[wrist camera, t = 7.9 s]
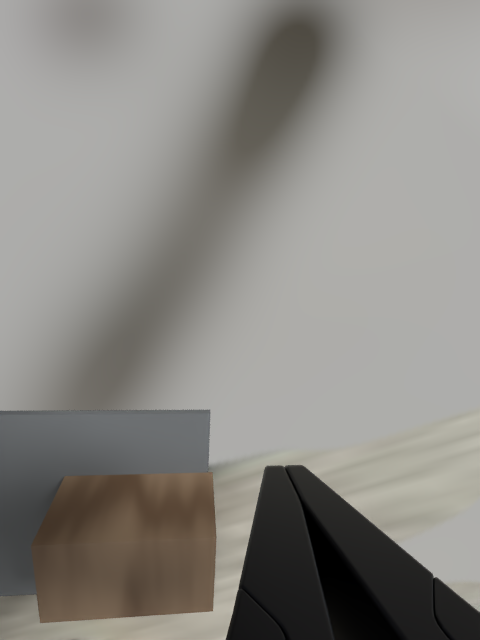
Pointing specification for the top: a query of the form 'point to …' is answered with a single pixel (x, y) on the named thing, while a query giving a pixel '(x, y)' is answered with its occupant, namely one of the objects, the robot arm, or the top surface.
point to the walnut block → (126, 547)
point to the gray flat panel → (81, 465)
